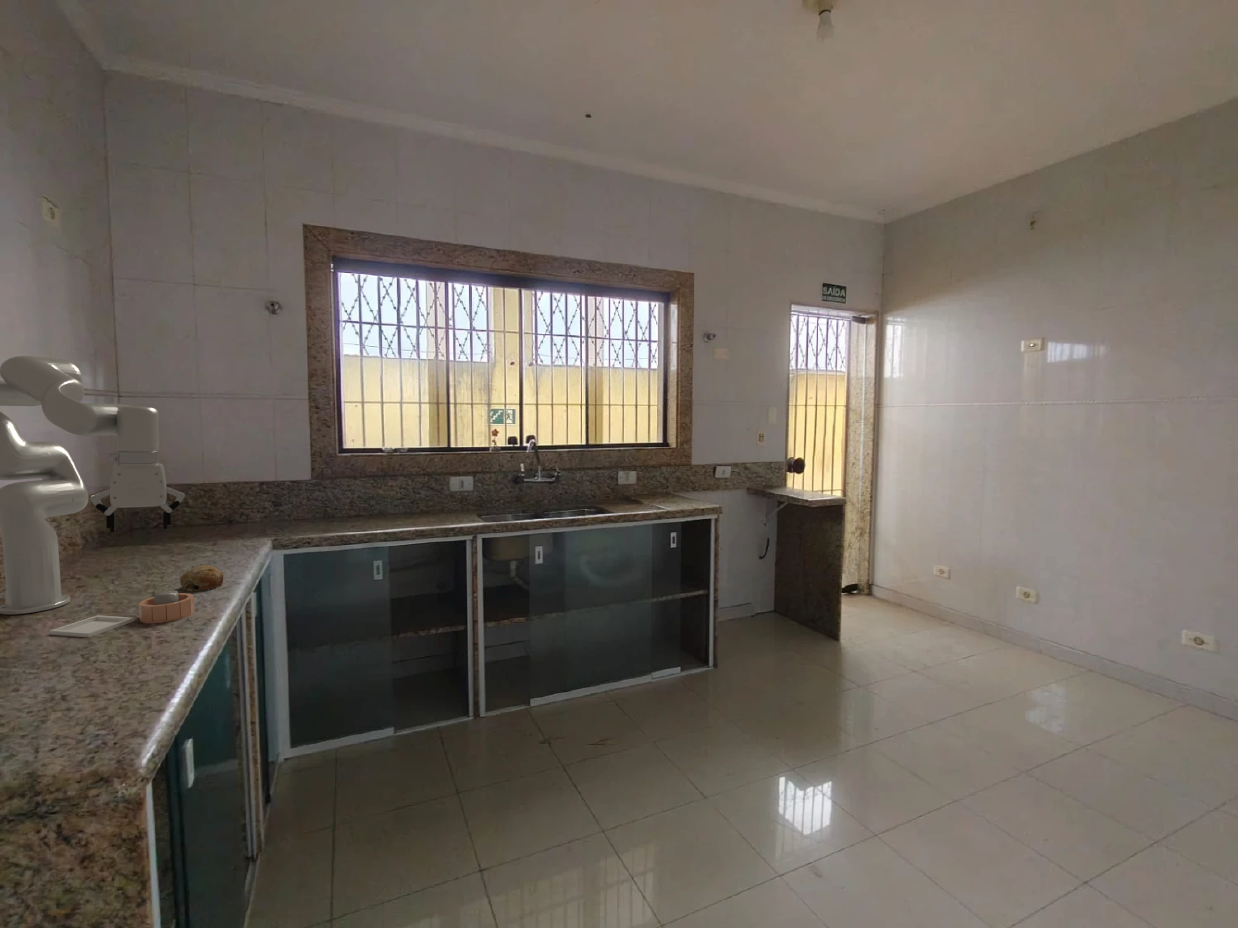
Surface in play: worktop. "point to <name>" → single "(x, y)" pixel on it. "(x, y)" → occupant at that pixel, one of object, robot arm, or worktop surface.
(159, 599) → the grey cylinder
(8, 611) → the robot arm
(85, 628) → the parts tray
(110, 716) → the worktop surface
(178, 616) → the bowl
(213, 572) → the bread roll
